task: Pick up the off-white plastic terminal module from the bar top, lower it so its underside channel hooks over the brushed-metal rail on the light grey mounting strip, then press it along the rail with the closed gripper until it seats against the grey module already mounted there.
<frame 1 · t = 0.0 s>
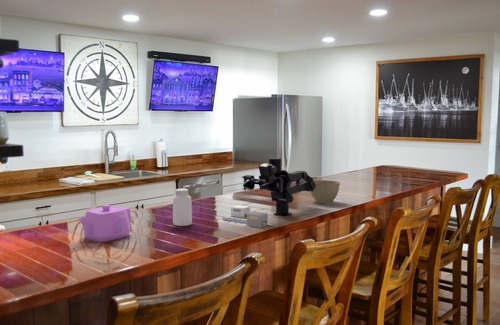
hand: (252, 186, 203), 17 cm above the counter, tool horizontal, fingers open, 9 cm apart
rail: (243, 223, 208), on the counter
module: (240, 216, 222), on the counter
pill bottle: (182, 224, 207), on the counter
mounted module: (257, 224, 204), resting on rail
teakettle: (107, 237, 186), on the counter
planter bowl: (324, 202, 257), on the counter
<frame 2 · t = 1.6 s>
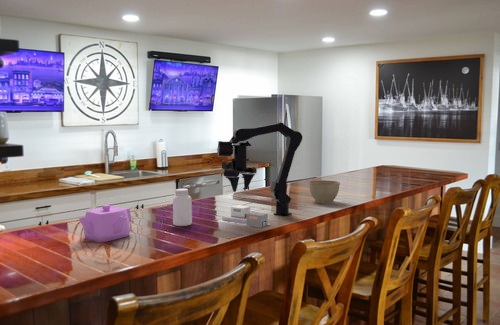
hand: (240, 190, 221), 12 cm above the counter, tool pointing down, fingers open, 9 cm apart
nothing on the counter moved.
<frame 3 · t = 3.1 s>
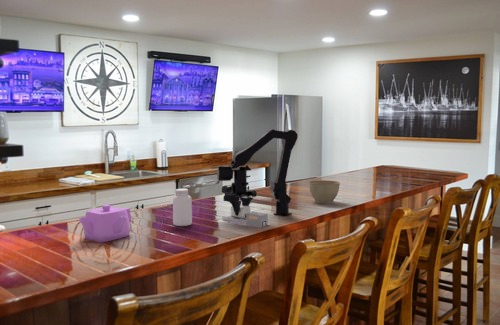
hand: (240, 214, 222), 1 cm above the counter, tool pointing down, fingers closed on module, 5 cm apart
module: (240, 216, 222), on the counter, touching gripper
everything else where it was.
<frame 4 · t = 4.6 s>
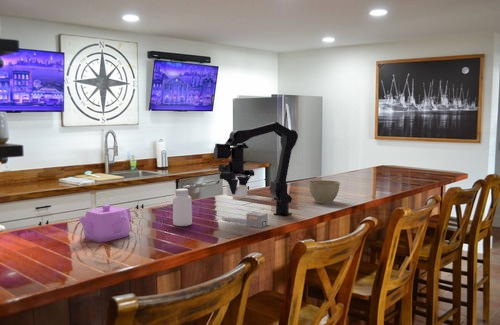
hand: (237, 193, 217), 11 cm above the counter, tool pointing down, fingers closed on module, 5 cm apart
module: (237, 195, 217), point 10 cm above the counter, touching gripper
everything else where it was.
when the fingers open (3 cm above the counter, at t = 6.3 s): module drops 1 cm, resting on rail.
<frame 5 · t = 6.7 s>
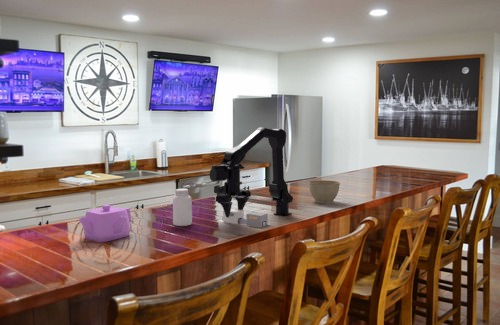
hand: (233, 215, 210), 3 cm above the counter, tool pointing down, fingers open, 9 cm apart
module: (233, 221, 211), resting on rail
everything else where it was.
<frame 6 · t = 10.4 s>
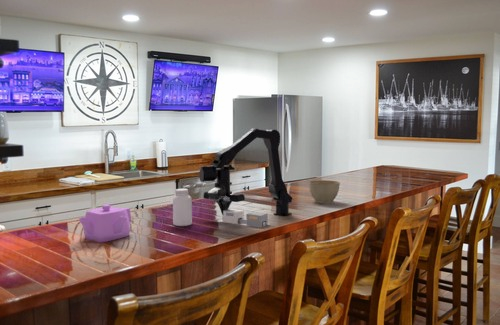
hand: (224, 215, 214), 2 cm above the counter, tool pointing down, fingers closed
module: (233, 221, 211), resting on rail, touching gripper
everything else where it was.
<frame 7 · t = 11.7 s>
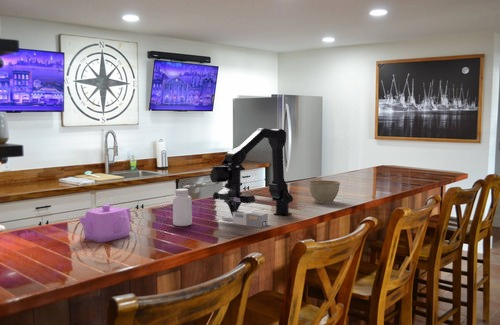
hand: (233, 216, 210), 2 cm above the counter, tool pointing down, fingers closed
module: (243, 222, 208), resting on rail, touching gripper, mounted module
everything else where it was.
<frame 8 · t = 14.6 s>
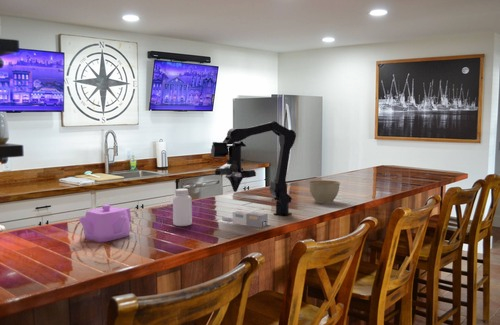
hand: (235, 191, 218), 12 cm above the counter, tool pointing down, fingers closed
module: (243, 222, 208), resting on rail
everything else where it was.
at the end: module 0.9 cm off-centre on the rail, point 0.4 cm above the rail's base; module 7.0 cm from the mounted module (horizontally); module tilted 0° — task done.
